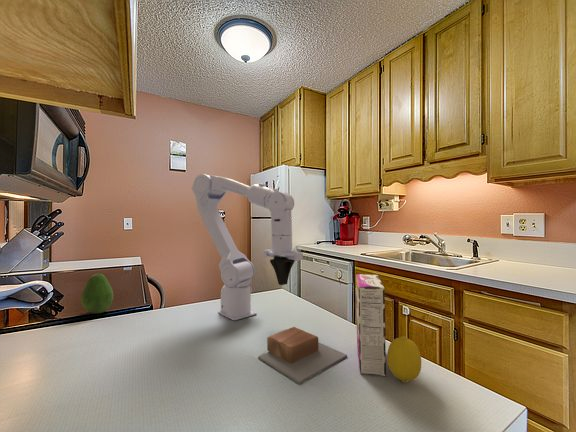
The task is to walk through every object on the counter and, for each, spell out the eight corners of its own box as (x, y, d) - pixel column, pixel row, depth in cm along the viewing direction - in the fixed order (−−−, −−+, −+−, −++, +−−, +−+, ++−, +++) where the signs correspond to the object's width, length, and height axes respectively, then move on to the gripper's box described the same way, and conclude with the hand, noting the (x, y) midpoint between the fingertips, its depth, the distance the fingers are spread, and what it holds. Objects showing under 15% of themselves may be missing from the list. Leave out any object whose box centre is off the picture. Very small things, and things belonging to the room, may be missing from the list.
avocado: (98, 308, 89) (98, 270, 89) (119, 309, 87) (119, 271, 87) (74, 317, 81) (74, 276, 81) (96, 318, 79) (97, 277, 79)
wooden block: (267, 336, 59) (291, 348, 54) (294, 326, 65) (318, 336, 59) (267, 350, 59) (291, 363, 54) (294, 339, 65) (318, 350, 59)
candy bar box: (355, 347, 62) (355, 273, 62) (379, 349, 61) (378, 274, 61) (358, 375, 51) (357, 285, 51) (386, 378, 50) (386, 286, 50)
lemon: (383, 373, 51) (383, 329, 51) (413, 373, 51) (413, 330, 51) (393, 391, 46) (393, 343, 46) (427, 392, 46) (427, 343, 46)
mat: (258, 358, 57) (258, 356, 57) (305, 338, 66) (305, 336, 66) (299, 384, 48) (299, 381, 48) (347, 356, 57) (347, 354, 57)
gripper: (255, 235, 80) (256, 282, 80) (288, 236, 69) (289, 291, 69) (274, 234, 84) (275, 278, 84) (308, 235, 74) (309, 286, 73)
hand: (282, 284), depth 77 cm, fingers closed
